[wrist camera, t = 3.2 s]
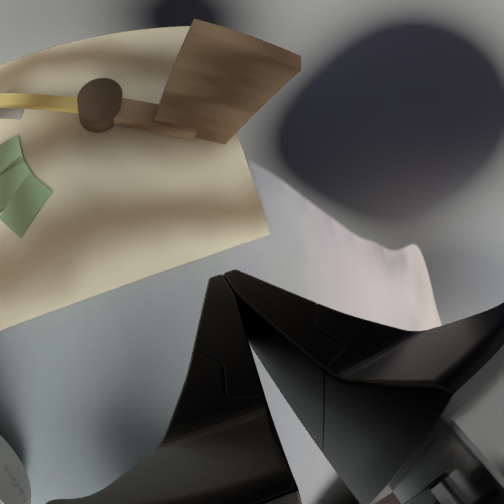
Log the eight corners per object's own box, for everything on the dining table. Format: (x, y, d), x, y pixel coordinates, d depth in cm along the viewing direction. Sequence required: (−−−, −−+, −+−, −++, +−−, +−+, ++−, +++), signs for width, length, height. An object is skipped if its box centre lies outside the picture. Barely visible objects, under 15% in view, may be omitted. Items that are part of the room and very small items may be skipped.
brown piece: (-7, 123, 14) (-53, 37, 5) (7, 89, 14) (-22, -3, 5) (223, 156, 21) (301, 85, 12) (227, 122, 22) (300, 43, 13)
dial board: (264, 235, 24) (271, 233, 22) (1, 329, 15) (-5, 332, 13) (195, 32, 22) (199, 24, 21) (-28, 85, 13) (-32, 77, 12)
